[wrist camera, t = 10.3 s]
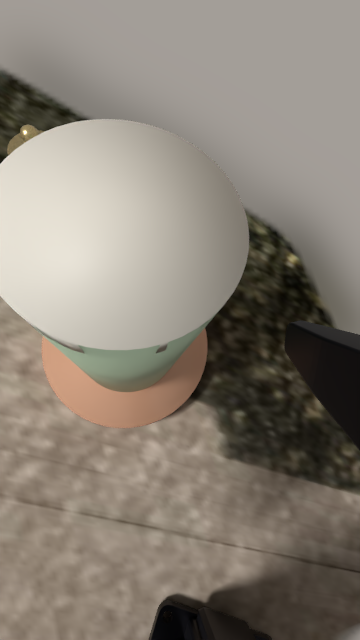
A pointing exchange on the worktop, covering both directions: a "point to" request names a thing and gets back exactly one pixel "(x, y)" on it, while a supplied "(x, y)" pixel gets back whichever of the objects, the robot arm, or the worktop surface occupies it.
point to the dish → (124, 406)
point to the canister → (118, 245)
